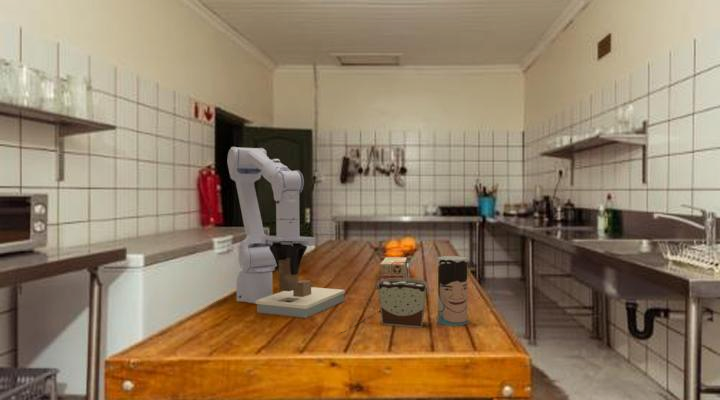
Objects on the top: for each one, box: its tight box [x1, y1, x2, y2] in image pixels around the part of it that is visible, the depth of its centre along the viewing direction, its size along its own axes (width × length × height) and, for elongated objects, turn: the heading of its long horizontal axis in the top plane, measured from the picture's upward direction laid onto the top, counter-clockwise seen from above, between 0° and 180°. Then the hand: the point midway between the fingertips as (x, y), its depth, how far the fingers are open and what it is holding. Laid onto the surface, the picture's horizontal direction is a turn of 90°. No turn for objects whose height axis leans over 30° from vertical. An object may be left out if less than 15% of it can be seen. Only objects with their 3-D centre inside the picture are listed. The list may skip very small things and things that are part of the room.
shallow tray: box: [256, 293, 345, 319], centre depth 136 cm, size 14×20×3 cm
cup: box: [437, 255, 468, 327], centre depth 122 cm, size 7×7×15 cm
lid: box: [255, 279, 346, 309], centre depth 136 cm, size 15×21×4 cm
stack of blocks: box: [379, 256, 411, 280], centre depth 145 cm, size 21×6×12 cm, turn 171°
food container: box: [375, 277, 429, 328], centre depth 122 cm, size 12×6×10 cm, turn 71°
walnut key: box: [278, 257, 299, 292], centre depth 130 cm, size 3×4×8 cm
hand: (288, 273), depth 130 cm, fingers closed on walnut key, 3 cm apart
